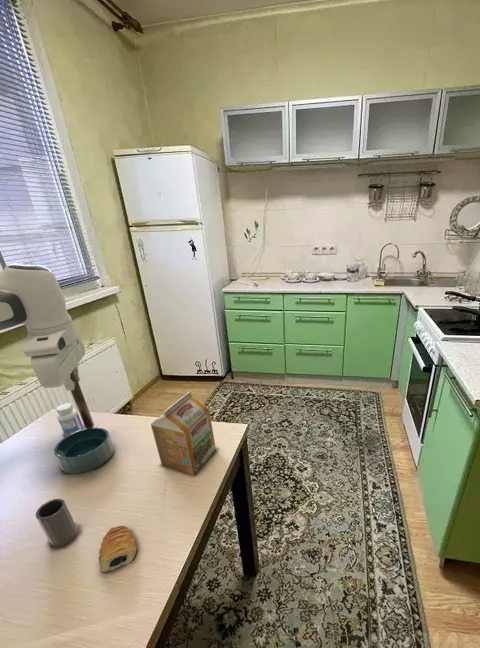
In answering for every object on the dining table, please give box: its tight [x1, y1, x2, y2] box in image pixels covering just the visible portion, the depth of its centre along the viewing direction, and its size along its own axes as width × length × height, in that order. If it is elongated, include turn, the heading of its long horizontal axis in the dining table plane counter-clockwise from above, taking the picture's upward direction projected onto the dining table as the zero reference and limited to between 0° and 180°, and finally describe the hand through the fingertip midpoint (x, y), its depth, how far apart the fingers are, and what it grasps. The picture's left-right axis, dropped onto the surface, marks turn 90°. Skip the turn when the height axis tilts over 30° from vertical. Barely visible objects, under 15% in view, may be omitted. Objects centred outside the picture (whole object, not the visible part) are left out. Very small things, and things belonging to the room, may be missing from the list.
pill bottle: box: [55, 402, 85, 437], centre depth 101 cm, size 6×5×10 cm
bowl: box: [53, 426, 115, 475], centre depth 91 cm, size 13×13×6 cm
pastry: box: [98, 525, 138, 573], centre depth 66 cm, size 9×7×4 cm
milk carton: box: [150, 391, 217, 476], centre depth 87 cm, size 11×10×19 cm
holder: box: [35, 498, 79, 548], centre depth 68 cm, size 5×5×9 cm
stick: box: [70, 370, 95, 429], centre depth 84 cm, size 2×2×18 cm
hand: (73, 385), depth 82 cm, fingers closed on stick, 2 cm apart
